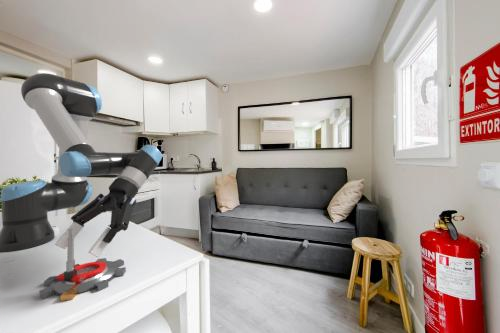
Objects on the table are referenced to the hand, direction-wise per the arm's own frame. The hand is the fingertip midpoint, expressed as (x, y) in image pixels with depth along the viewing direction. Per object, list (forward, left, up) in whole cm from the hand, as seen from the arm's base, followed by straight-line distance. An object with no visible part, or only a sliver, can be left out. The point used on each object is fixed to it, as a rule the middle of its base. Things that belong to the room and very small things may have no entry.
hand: (75, 250), depth 52 cm
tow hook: (-1, +2, -7) cm, 8 cm away
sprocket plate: (0, +2, -8) cm, 9 cm away
